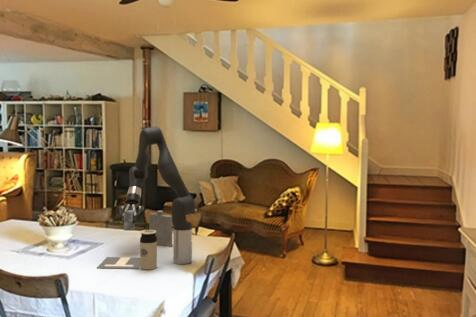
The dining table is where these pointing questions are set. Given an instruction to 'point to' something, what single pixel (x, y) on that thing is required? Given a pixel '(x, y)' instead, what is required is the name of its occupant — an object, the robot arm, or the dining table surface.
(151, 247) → the travel mug
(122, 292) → the dining table surface
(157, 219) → the hip flask
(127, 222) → the slate block
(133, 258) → the letter board
